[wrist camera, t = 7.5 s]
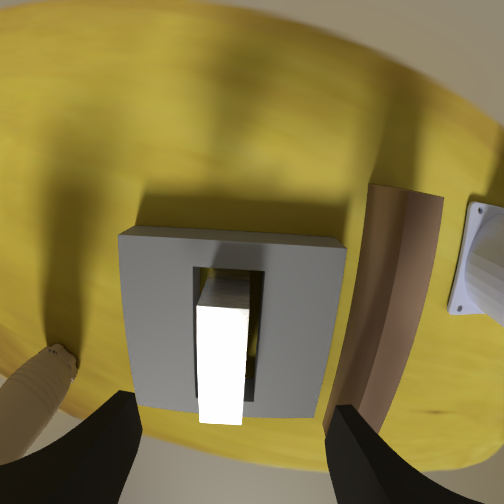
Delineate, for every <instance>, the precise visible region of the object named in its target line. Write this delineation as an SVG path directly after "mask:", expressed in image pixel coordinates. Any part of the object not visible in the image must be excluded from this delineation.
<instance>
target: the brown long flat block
mask: <svg viewBox="0 0 504 504" xmlns="http://www.w3.org/2000/svg"><path fill="white" fill-rule="evenodd" d="M443 202H444V197H440V196H436V195H431V194H427V193H422V192H417V191H412V190H408V189H403V188H397V187H390V186H383V185H376V184H368V194H367V204H366V213H365V221H364V229H363V236H362V243H361V250H360V257H359V263H358V270H357V276H356V282H355V287H354V293H353V298H352V304H351V309H350V314H349V319H348V324H347V329H346V333H345V338H344V342H343V347H342V351H341V356H340V360H339V364H338V368H337V372H336V376H335V380H334V384H333V388H332V392H331V395H330V399H329V403H328V406H327V410H326V413H325V417H324V420H323V428H324V432H325V436H326V435H327V432H328V429H329V425H330V422H331V419H332V416H333V412H334V409H335V405H348V404H352V405H353V406H354V408H355V409H356V410H357V411H358V412H359V413H360V415H361V416H362V417H363V418H364V419H365V421H366V422H367V423H368V424H369V425H370V426H371V427H372V429H373V430H374V431H375V432H376V433H377V434H378V433H379V431H380V429H381V426H382V424H383V422H384V420H385V417H386V415H387V413H388V410H389V408H390V405H391V403H392V400H393V398H394V395H395V393H396V390H397V388H398V385H399V382H400V380H401V377H402V374H403V371H404V368H405V366H406V363H407V360H408V357H409V354H410V351H411V348H412V344H413V341H414V338H415V335H416V331H417V328H418V324H419V321H420V317H421V314H422V310H423V306H424V302H425V298H426V294H427V290H428V286H429V282H430V277H431V273H432V268H433V263H434V258H435V253H436V248H437V242H438V236H439V230H440V224H441V217H442V210H443Z"/></svg>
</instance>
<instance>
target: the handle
mask: <svg viewBox="0 0 504 504" xmlns="http://www.w3.org/2000/svg"><path fill="white" fill-rule="evenodd" d="M75 363H76V359H75V357H74V355H71V354H70V353H69V352H67V351H66V350H65V349H64V347H63V346H62V345H60V344H54V345H53V346H52V347H46V348H44V349H42V350H41V351H40V352H39V353H38V354H37V355H35V356H34V357H32V358H31V359H29V360H28V361H27V362H26V363H24V364H23V365H22V366H21V367H20V368H18V369H17V370H16V371H15V372H14V373H13V374H12V375H11V376H10V377H9V378H8V380H7V381H6V382H5V383H4V384H3V385H2V387H1V388H0V465H3V464H7V463H10V462H13V461H15V460H18V459H21V458H22V457H23V455H24V454H25V453H26V451H27V450H28V449H29V447H30V446H31V445H32V444H33V442H34V441H35V440H36V439H37V437H38V436H39V435H40V434H41V432H42V431H43V429H44V428H45V427H46V426H47V424H48V423H49V422H50V420H51V419H52V417H53V416H54V415H55V413H56V411H57V410H58V408H59V407H60V405H61V403H62V401H63V400H64V398H65V396H66V394H67V392H68V389H69V387H70V384H71V382H72V383H73V381H74V379H75V378H76V375H77V373H78V369H77V368H76V365H75Z"/></svg>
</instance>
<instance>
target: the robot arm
mask: <svg viewBox="0 0 504 504" xmlns="http://www.w3.org/2000/svg"><path fill="white" fill-rule="evenodd" d="M479 207H480V212H478V209H479ZM459 306H460V307H459ZM458 307H459V308H458ZM457 308H458V309H457ZM447 311H448V312H449V313H450V314H451V315H463V314H482V313H486V314H487V315H488V316H490V317H491V318H492V319H494V320H495V321H496V322H498V323H499V324H500V325H501V326H503V327H504V208H503V207H498V206H494V205H489V204H485V203H480V202H475V201H472V202H470V203H469V205H468V210H467V217H466V223H465V230H464V236H463V241H462V247H461V252H460V257H459V262H458V266H457V271H456V275H455V279H454V283H453V288H452V291H451V295H450V299H449V303H448V306H447ZM142 430H143V429H142V425H141V420H140V416H139V411H138V407H137V402H136V397H135V393H132V392H127V391H121V390H119V391H118V392H117V393H115V394H114V395H113V396H112V397H111V398H110V399H109V400H107V401H106V402H105V403H104V404H103V405H102V406H101V407H99V408H98V409H97V410H96V411H95V412H94V413H92V414H91V415H90V416H89V417H88V418H86V419H85V420H84V421H83V422H81V423H80V424H79V425H78V426H76V427H75V428H74V429H72V430H71V431H70V432H68V433H67V434H65V435H64V436H62V437H61V438H59V439H58V440H56V441H55V442H53V443H51V444H50V445H48V446H46V447H44V448H43V449H41V450H39V451H37V452H34V453H32V454H30V455H28V456H25V457H23V458H21V459H18V460H15V461H13V462H10V463H7V464H3V465H0V504H118V501H119V498H120V495H121V492H122V490H123V487H124V485H125V482H126V480H127V477H128V474H129V472H130V469H131V467H132V464H133V462H134V459H135V457H136V454H137V451H138V447H139V443H140V439H141V435H142ZM325 449H326V457H327V464H328V468H329V472H330V476H331V480H332V484H333V488H334V492H335V495H336V499H337V503H338V504H484V503H481V502H478V501H474V500H471V499H468V498H466V497H464V496H461V495H459V494H456V493H454V492H452V491H450V490H448V489H446V488H444V487H443V486H441V485H439V484H437V483H435V482H434V481H432V480H431V479H429V478H427V477H426V476H424V475H423V474H422V473H420V472H419V471H417V470H416V469H415V468H413V467H412V466H411V465H409V464H408V463H407V462H406V461H405V460H403V459H402V458H401V457H400V456H399V455H398V454H397V453H396V452H395V451H394V450H393V449H392V448H390V447H389V446H388V445H387V443H386V442H385V441H384V440H383V439H382V438H381V437H380V436H379V435H378V434H377V433H376V432H375V431H374V430H373V429H372V427H371V426H370V425H369V424H368V423H367V422H366V421H365V419H364V418H363V417H362V416H361V415H360V413H359V412H358V411H357V410H356V409H355V408H354V406H353V405H352V404H348V405H335V409H334V412H333V416H332V419H331V422H330V425H329V429H328V432H327V435H326V438H325Z"/></svg>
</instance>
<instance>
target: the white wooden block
mask: <svg viewBox="0 0 504 504" xmlns="http://www.w3.org/2000/svg"><path fill="white" fill-rule="evenodd" d="M249 302H250V270H240V269H224V268H211V270H210V273H209V275H208V278H207V280H206V283H205V286H204V288H203V291H202V294H201V296H200V299H199V301H198V304H197V354H198V387H199V410H200V422H209V423H220V424H234V425H242V410H243V396H244V381H245V366H246V352H247V337H248V322H249Z"/></svg>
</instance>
